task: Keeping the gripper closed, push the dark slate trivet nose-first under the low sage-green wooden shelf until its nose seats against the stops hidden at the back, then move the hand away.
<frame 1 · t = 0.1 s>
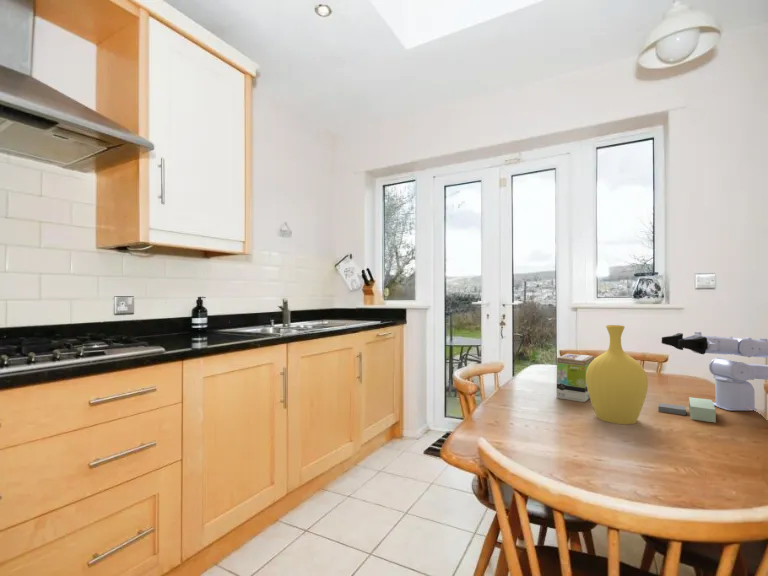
hand: (670, 341, 130), 22 cm above the table, tool horizontal, fingers open, 7 cm apart
trivet: (672, 412, 125), on the table
vase: (616, 419, 118), on the table
tea box: (575, 396, 144), on the table
shelf: (708, 416, 120), on the table
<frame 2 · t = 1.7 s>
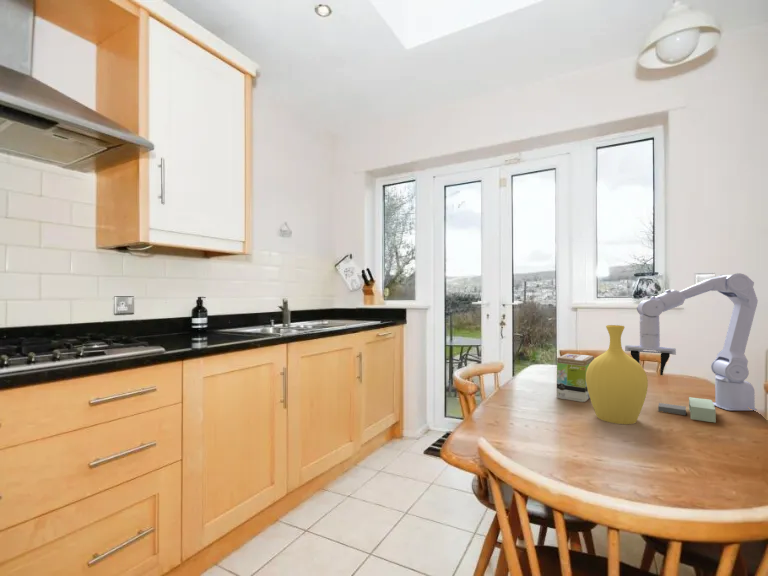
hand: (650, 373, 136), 10 cm above the table, tool pointing down, fingers open, 6 cm apart
nothing on the table moved.
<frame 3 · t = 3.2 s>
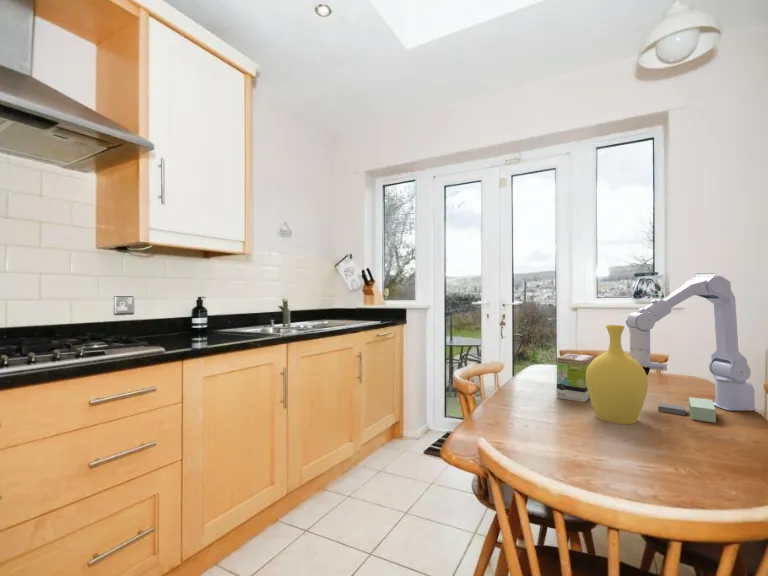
hand: (640, 389, 130), 6 cm above the table, tool pointing down, fingers closed
nothing on the table moved.
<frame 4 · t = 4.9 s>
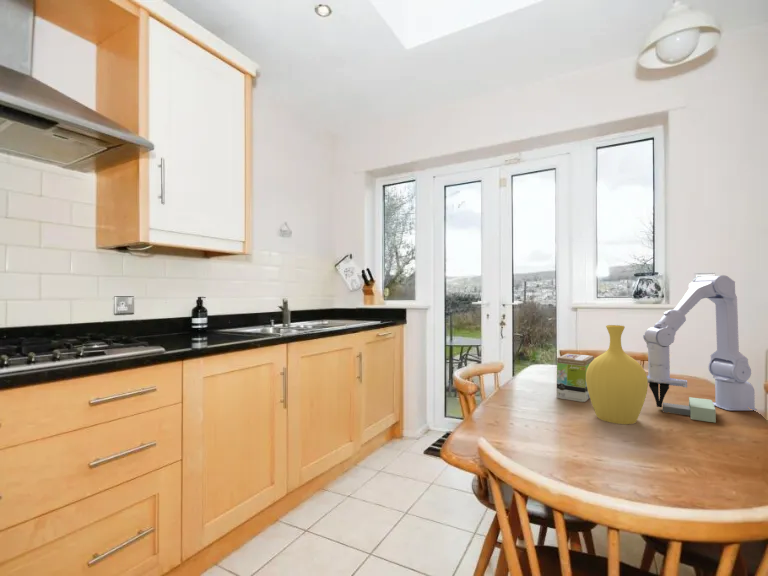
hand: (659, 406, 127), 1 cm above the table, tool pointing down, fingers closed
trivet: (676, 412, 125), on the table
everything else where it was.
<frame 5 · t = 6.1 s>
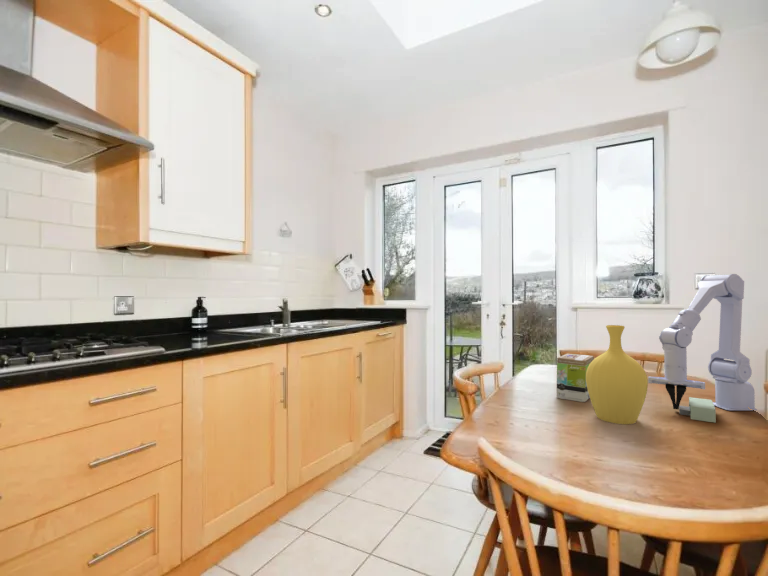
hand: (675, 408, 125), 1 cm above the table, tool pointing down, fingers closed
trivet: (693, 415, 122), on the table
everything else where it was.
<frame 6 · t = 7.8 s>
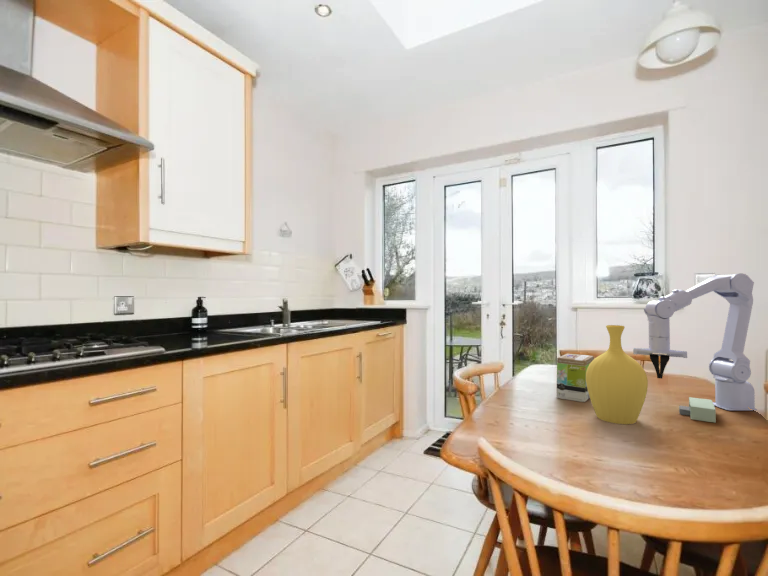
hand: (659, 377, 130), 10 cm above the table, tool pointing down, fingers closed
nothing on the table moved.
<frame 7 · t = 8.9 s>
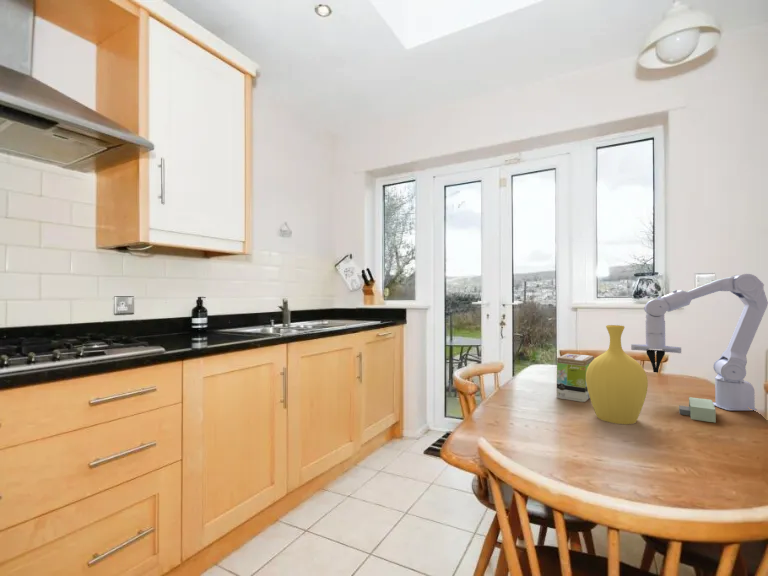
hand: (655, 371, 139), 10 cm above the table, tool pointing down, fingers closed
nothing on the table moved.
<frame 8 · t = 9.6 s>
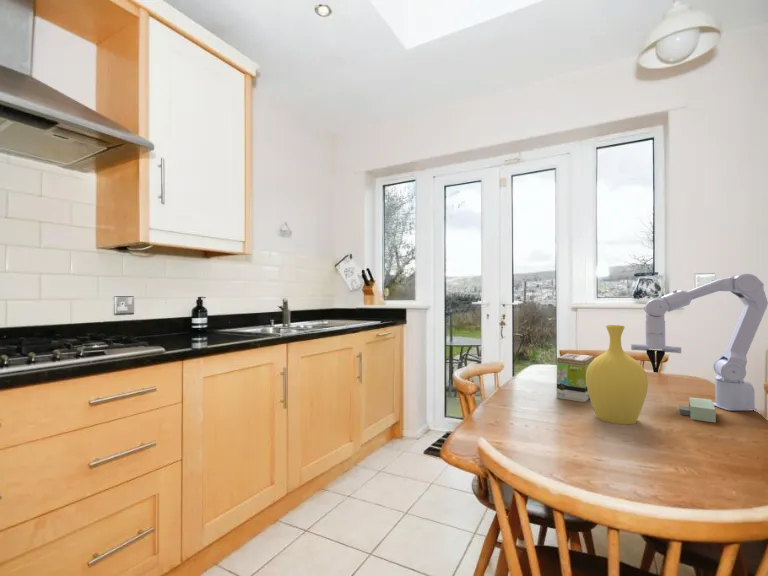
hand: (655, 371, 139), 10 cm above the table, tool pointing down, fingers closed
nothing on the table moved.
at the end: trivet 0.2 cm from the target spot, on the table; trivet tilted 0° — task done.
